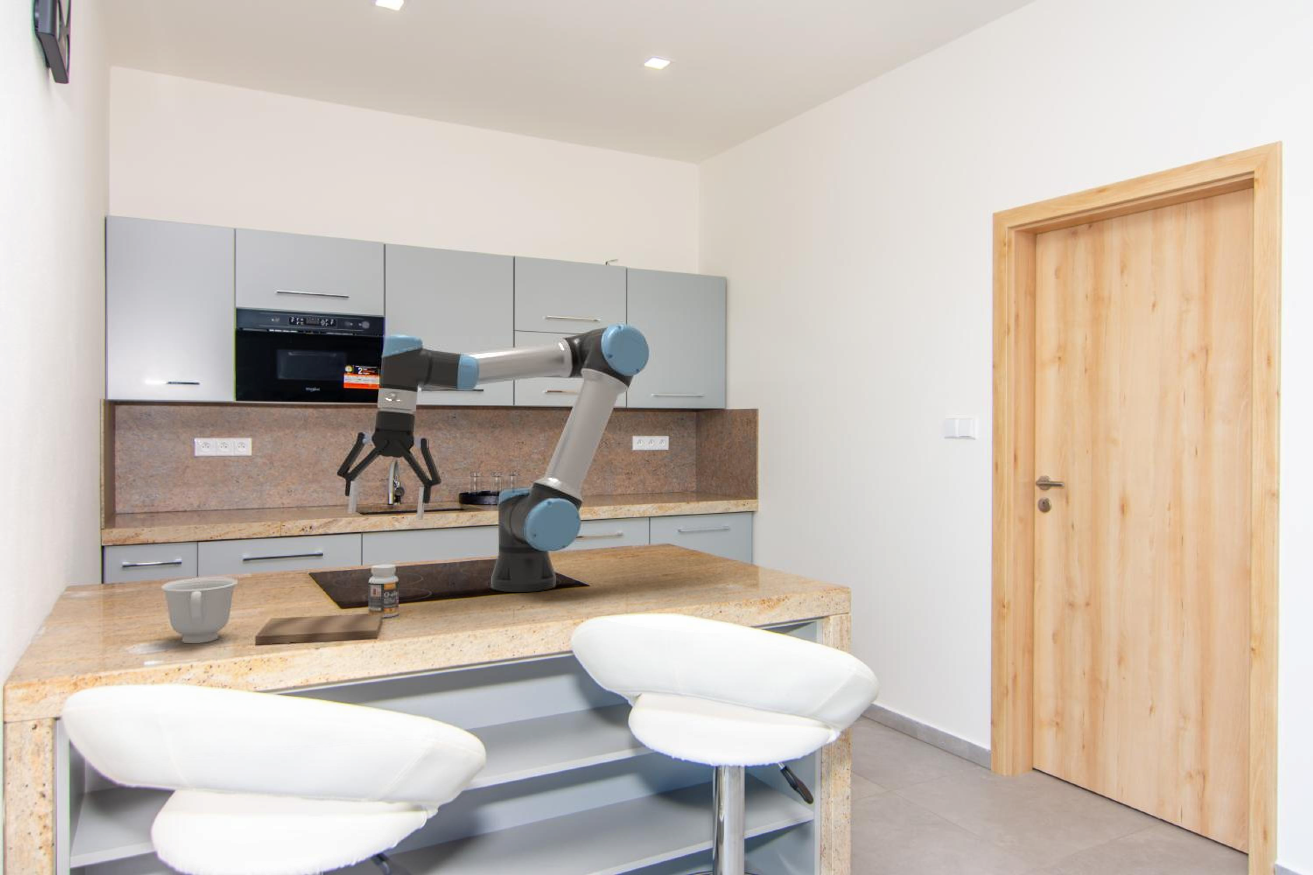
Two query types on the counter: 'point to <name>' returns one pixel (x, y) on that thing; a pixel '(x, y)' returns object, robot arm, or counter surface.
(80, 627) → the counter surface
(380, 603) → the pill bottle
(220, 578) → the teacup
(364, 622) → the walnut board
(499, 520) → the robot arm
